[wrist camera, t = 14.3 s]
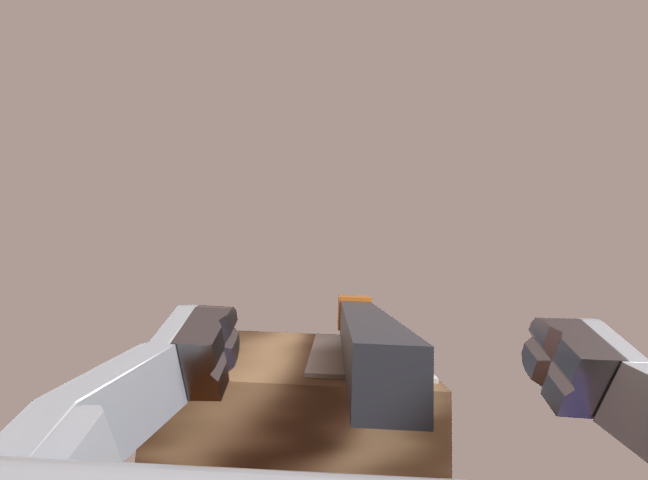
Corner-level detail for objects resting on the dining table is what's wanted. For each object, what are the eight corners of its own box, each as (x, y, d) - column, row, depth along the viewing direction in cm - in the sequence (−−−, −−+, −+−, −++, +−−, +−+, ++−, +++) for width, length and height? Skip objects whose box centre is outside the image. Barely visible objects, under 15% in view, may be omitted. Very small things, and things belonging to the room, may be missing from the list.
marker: (367, 326, 29) (368, 295, 30) (439, 432, 9) (438, 336, 10) (337, 324, 29) (338, 294, 30) (345, 427, 9) (348, 332, 10)
